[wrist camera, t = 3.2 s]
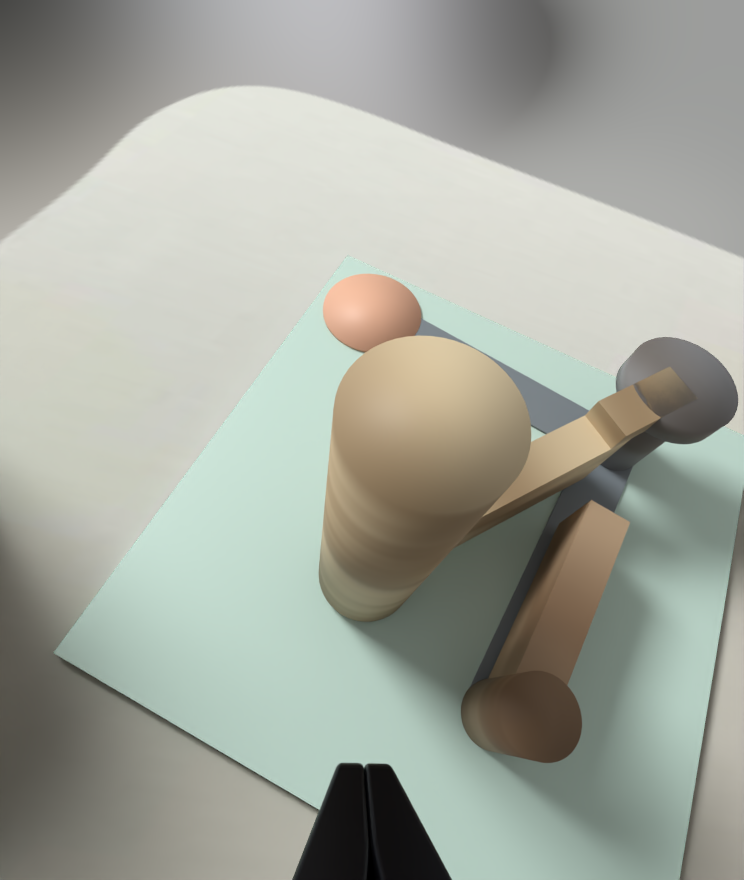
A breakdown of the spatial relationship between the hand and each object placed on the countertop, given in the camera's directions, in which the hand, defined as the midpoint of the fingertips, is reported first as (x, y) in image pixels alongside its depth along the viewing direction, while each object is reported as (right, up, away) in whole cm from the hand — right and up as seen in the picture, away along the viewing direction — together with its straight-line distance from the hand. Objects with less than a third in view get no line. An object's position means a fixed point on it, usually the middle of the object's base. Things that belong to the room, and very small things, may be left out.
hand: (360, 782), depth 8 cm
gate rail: (+4, +3, +9) cm, 11 cm away
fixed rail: (+6, +2, +9) cm, 11 cm away
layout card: (+3, +2, +9) cm, 10 cm away
